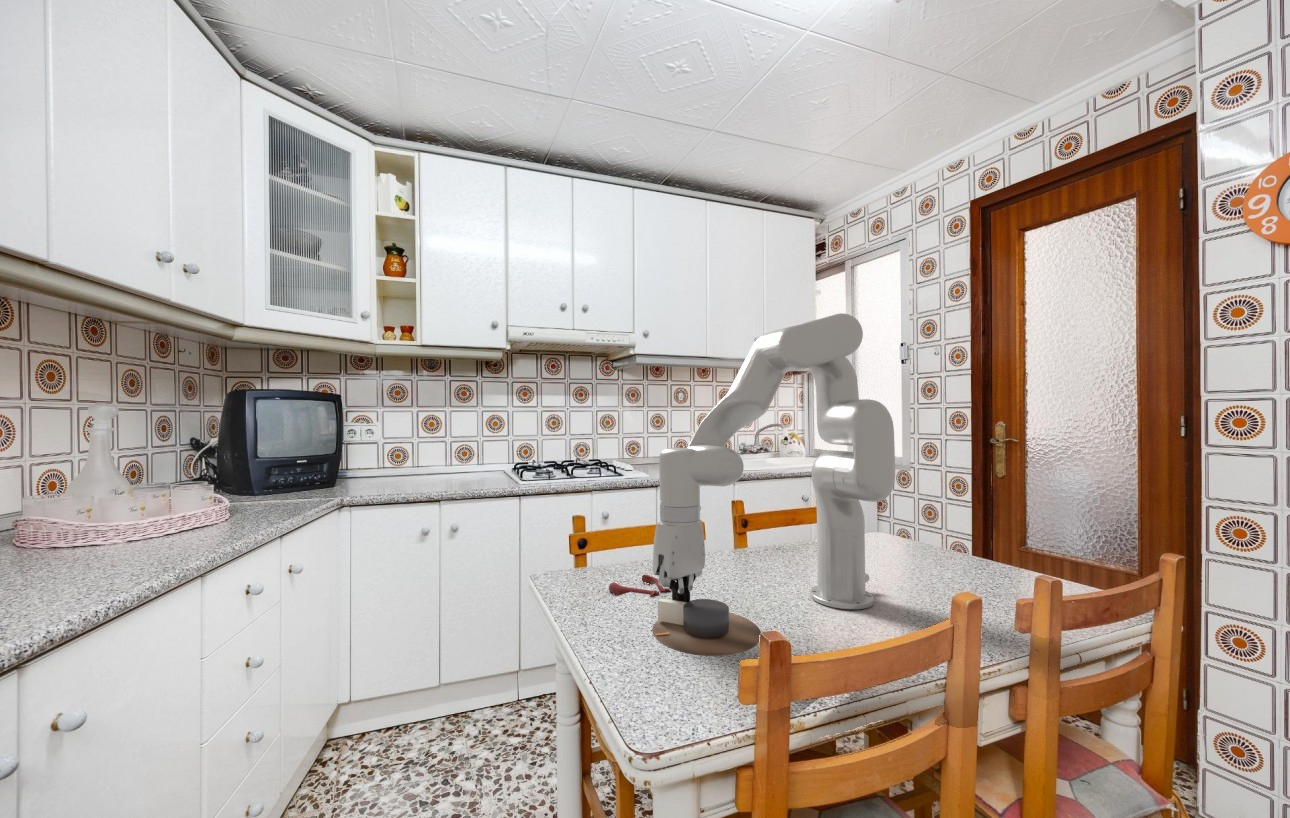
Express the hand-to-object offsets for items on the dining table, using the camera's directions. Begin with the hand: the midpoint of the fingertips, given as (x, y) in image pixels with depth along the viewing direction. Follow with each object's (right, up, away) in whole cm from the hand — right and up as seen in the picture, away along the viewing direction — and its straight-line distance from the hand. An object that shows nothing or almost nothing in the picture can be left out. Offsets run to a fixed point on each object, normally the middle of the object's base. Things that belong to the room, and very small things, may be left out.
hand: (681, 612), depth 93 cm
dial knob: (+2, -1, -4) cm, 5 cm away
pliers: (-7, -4, +15) cm, 17 cm away
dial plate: (+4, -3, -5) cm, 7 cm away
